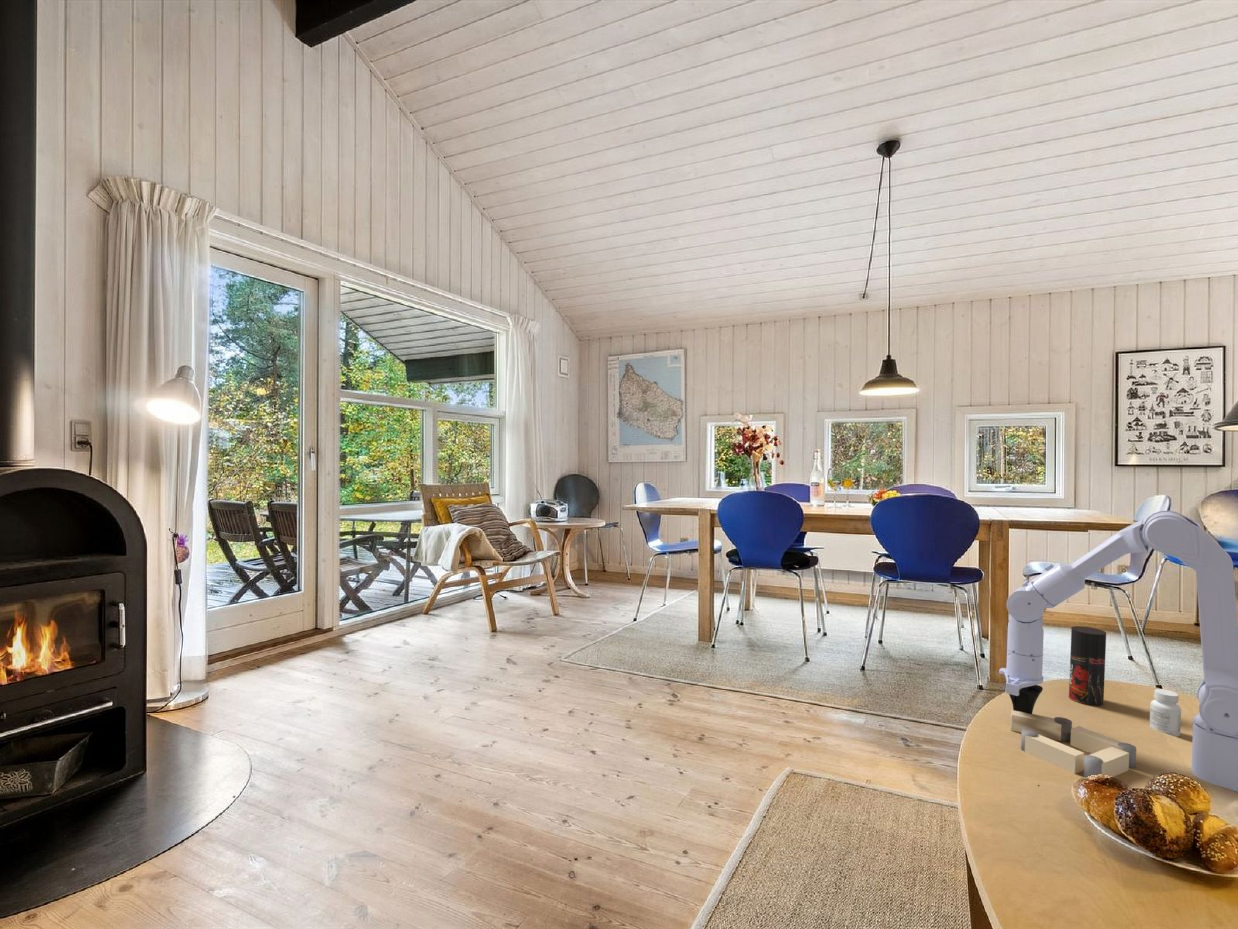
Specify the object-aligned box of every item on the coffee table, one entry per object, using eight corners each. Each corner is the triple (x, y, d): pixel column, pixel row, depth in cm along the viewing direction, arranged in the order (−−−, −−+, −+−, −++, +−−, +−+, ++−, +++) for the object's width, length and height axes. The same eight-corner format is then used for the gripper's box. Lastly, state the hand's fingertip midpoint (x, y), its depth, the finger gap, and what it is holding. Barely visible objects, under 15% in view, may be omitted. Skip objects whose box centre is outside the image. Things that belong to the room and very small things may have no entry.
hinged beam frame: (1141, 770, 105) (1142, 748, 105) (1097, 788, 100) (1098, 765, 100) (1058, 737, 117) (1059, 717, 117) (1015, 752, 111) (1015, 730, 111)
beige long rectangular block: (1070, 737, 116) (1071, 719, 115) (1071, 743, 113) (1072, 724, 113) (1010, 725, 120) (1011, 707, 120) (1011, 730, 118) (1011, 712, 118)
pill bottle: (1168, 728, 121) (1170, 688, 121) (1186, 738, 117) (1188, 697, 117) (1143, 726, 122) (1145, 687, 122) (1160, 737, 118) (1162, 696, 117)
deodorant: (1110, 706, 131) (1113, 634, 131) (1081, 705, 131) (1084, 634, 131) (1090, 694, 137) (1092, 626, 137) (1062, 694, 137) (1064, 626, 137)
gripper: (1012, 638, 127) (1010, 704, 128) (988, 654, 117) (985, 726, 118) (1054, 647, 122) (1051, 716, 123) (1032, 665, 112) (1029, 740, 113)
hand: (1022, 722), depth 120 cm, fingers closed, pressing on beige long rectangular block
